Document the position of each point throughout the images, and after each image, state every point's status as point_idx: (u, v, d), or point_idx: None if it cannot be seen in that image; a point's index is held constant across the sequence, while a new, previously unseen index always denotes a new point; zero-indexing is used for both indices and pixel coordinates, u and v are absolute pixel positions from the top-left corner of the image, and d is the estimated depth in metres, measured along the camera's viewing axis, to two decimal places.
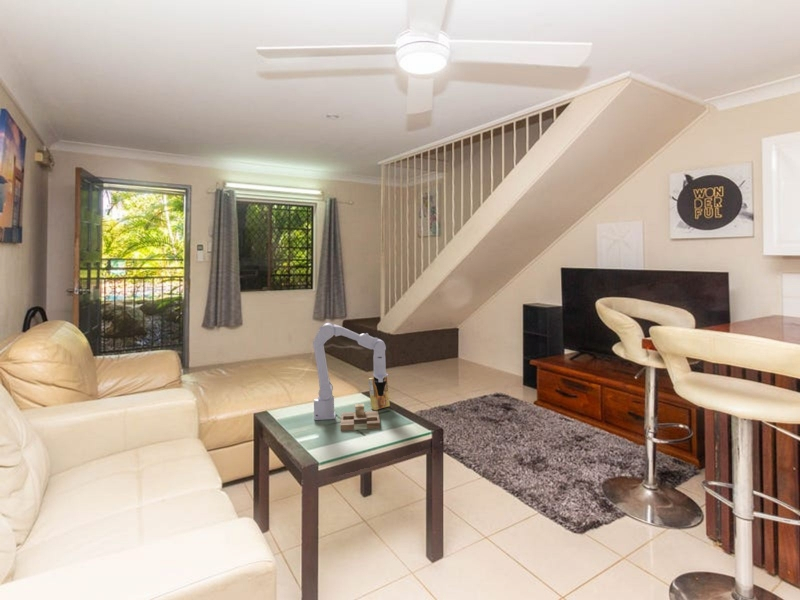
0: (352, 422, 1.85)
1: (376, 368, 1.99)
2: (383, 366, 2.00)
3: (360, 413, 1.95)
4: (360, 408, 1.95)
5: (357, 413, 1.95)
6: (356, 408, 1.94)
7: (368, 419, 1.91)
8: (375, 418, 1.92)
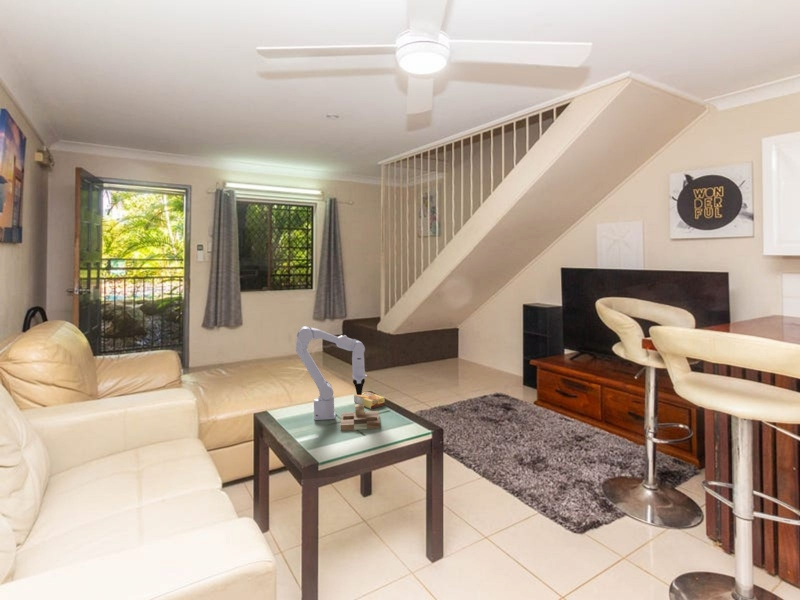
0: (352, 422, 1.85)
1: (355, 369, 2.00)
2: (362, 367, 2.00)
3: (360, 413, 1.95)
4: (360, 408, 1.95)
5: (357, 413, 1.95)
6: (356, 408, 1.94)
7: (368, 419, 1.91)
8: (375, 418, 1.92)
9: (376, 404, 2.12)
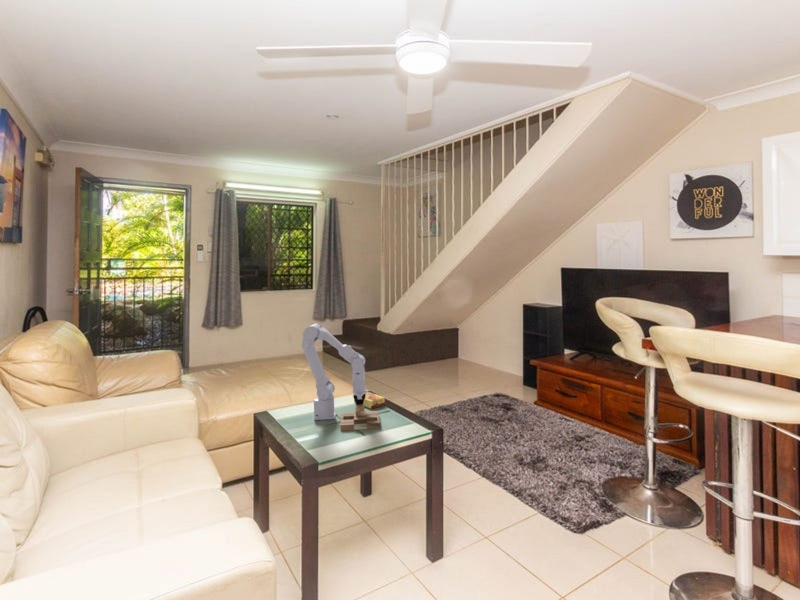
0: (352, 422, 1.85)
1: (355, 384, 1.95)
2: (362, 382, 1.96)
3: (360, 414, 1.93)
4: (361, 409, 1.93)
5: (357, 414, 1.93)
6: (356, 409, 1.93)
7: (368, 419, 1.91)
8: (375, 418, 1.92)
9: (376, 404, 2.12)
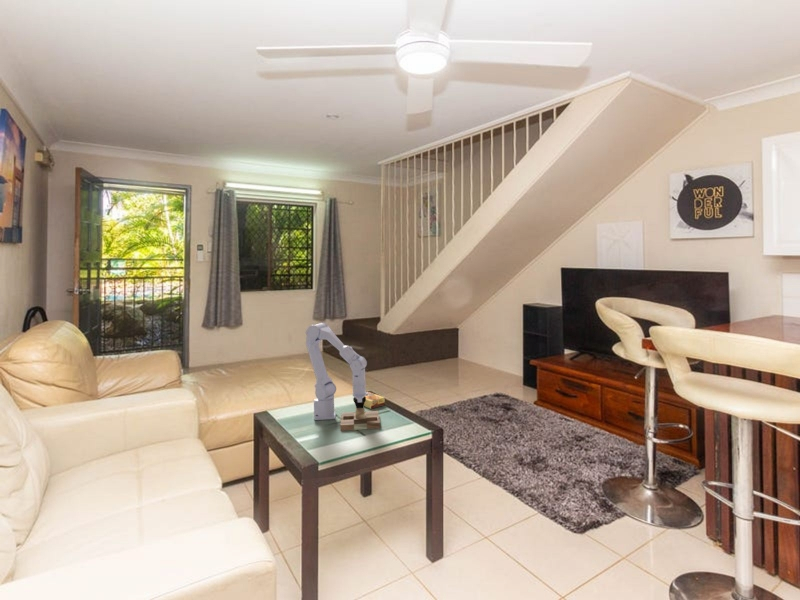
0: (352, 422, 1.85)
1: (355, 387, 1.91)
2: (363, 385, 1.91)
3: (360, 418, 1.89)
4: (361, 413, 1.88)
5: (357, 418, 1.88)
6: (356, 412, 1.88)
7: (368, 419, 1.91)
8: (375, 418, 1.92)
9: (376, 404, 2.12)
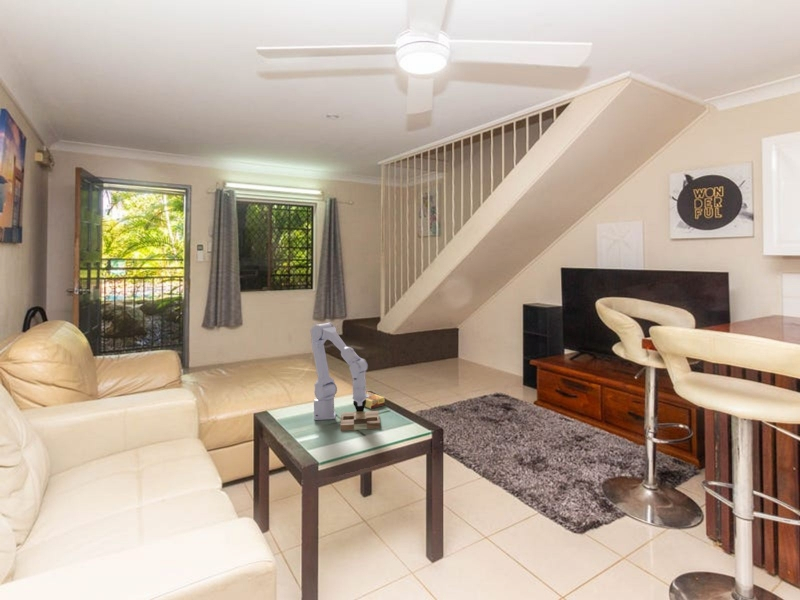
0: (352, 422, 1.85)
1: (355, 390, 1.86)
2: (363, 388, 1.86)
3: None
4: (361, 416, 1.84)
5: None
6: (356, 416, 1.84)
7: (368, 419, 1.91)
8: (375, 418, 1.92)
9: (376, 404, 2.12)
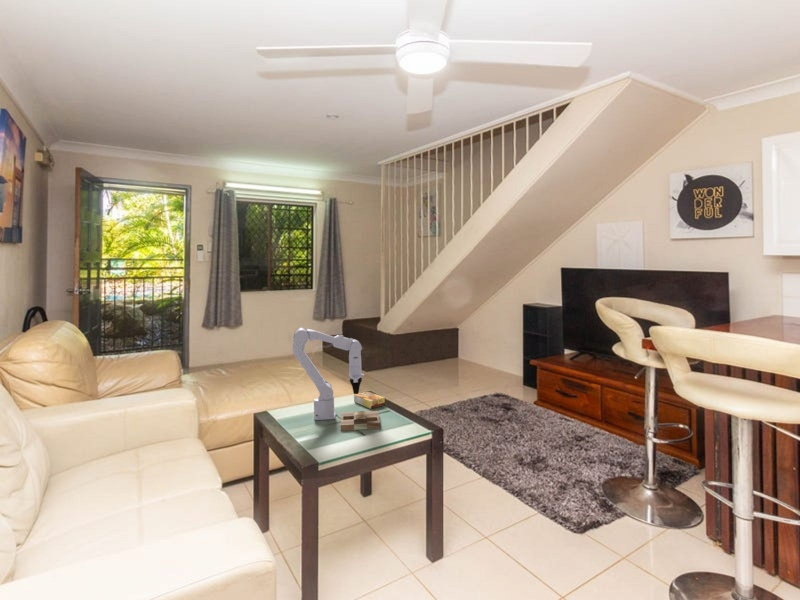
0: (352, 422, 1.85)
1: (351, 368, 1.99)
2: (359, 366, 2.00)
3: None
4: (361, 416, 1.84)
5: None
6: (356, 416, 1.84)
7: (368, 419, 1.91)
8: (375, 418, 1.92)
9: (376, 404, 2.12)
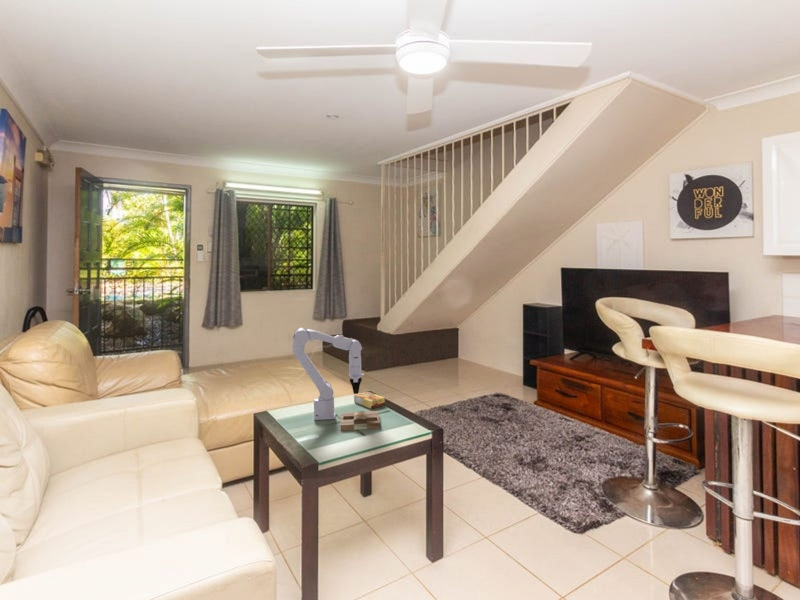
0: (352, 422, 1.85)
1: (351, 368, 2.00)
2: (358, 366, 2.00)
3: None
4: (361, 416, 1.84)
5: None
6: (356, 416, 1.84)
7: (368, 419, 1.91)
8: (375, 418, 1.92)
9: (376, 404, 2.12)
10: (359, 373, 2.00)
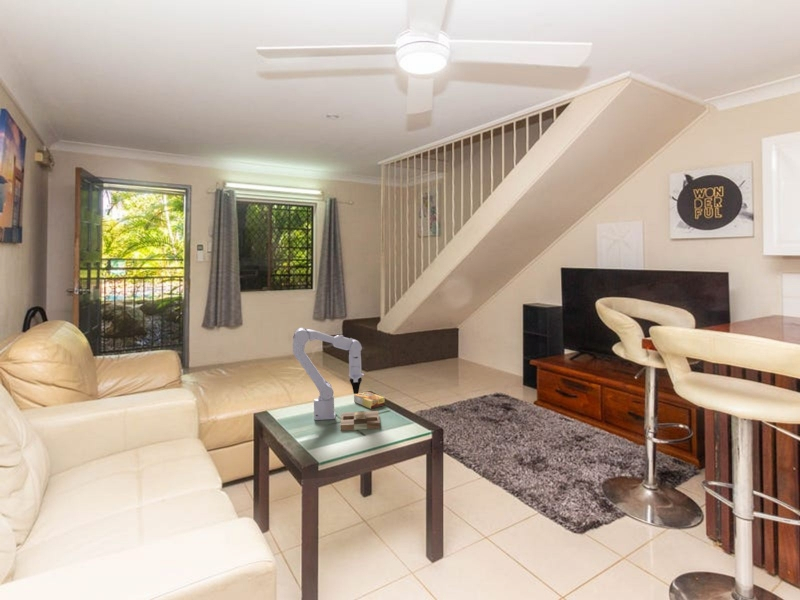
0: (352, 422, 1.85)
1: (351, 368, 2.00)
2: (358, 366, 2.00)
3: None
4: (361, 416, 1.84)
5: None
6: (356, 416, 1.84)
7: (368, 419, 1.91)
8: (375, 418, 1.92)
9: (376, 404, 2.12)
10: (359, 373, 2.00)
